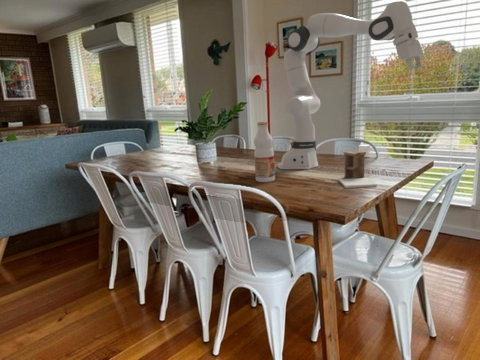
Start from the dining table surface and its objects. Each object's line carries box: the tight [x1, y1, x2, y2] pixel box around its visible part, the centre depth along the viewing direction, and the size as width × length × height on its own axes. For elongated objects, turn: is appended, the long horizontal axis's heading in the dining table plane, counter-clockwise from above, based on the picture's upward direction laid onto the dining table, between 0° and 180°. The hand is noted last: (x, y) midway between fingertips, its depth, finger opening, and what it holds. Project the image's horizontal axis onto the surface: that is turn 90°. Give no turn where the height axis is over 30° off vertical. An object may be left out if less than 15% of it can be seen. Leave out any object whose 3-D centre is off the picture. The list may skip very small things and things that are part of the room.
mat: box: [338, 177, 378, 189], centre depth 160 cm, size 13×12×1 cm
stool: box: [343, 149, 366, 179], centre depth 171 cm, size 7×7×12 cm
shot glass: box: [358, 143, 372, 158], centre depth 221 cm, size 7×7×7 cm
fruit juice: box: [253, 121, 276, 183], centre depth 174 cm, size 9×9×28 cm
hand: (416, 68), depth 160 cm, fingers open, 8 cm apart
